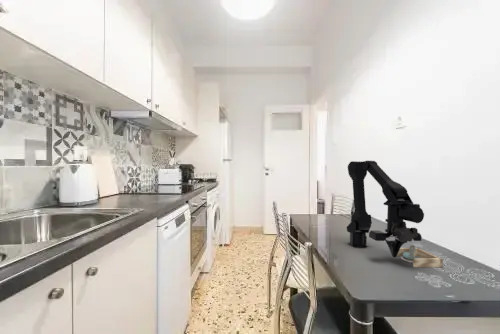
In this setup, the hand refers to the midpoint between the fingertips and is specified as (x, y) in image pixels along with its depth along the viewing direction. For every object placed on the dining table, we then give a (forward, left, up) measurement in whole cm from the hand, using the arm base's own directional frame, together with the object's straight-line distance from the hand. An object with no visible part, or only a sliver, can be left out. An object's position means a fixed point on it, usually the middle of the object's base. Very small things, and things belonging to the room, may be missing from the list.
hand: (394, 257), depth 111 cm
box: (+9, 0, -1) cm, 9 cm away
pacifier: (+7, +1, -2) cm, 7 cm away
